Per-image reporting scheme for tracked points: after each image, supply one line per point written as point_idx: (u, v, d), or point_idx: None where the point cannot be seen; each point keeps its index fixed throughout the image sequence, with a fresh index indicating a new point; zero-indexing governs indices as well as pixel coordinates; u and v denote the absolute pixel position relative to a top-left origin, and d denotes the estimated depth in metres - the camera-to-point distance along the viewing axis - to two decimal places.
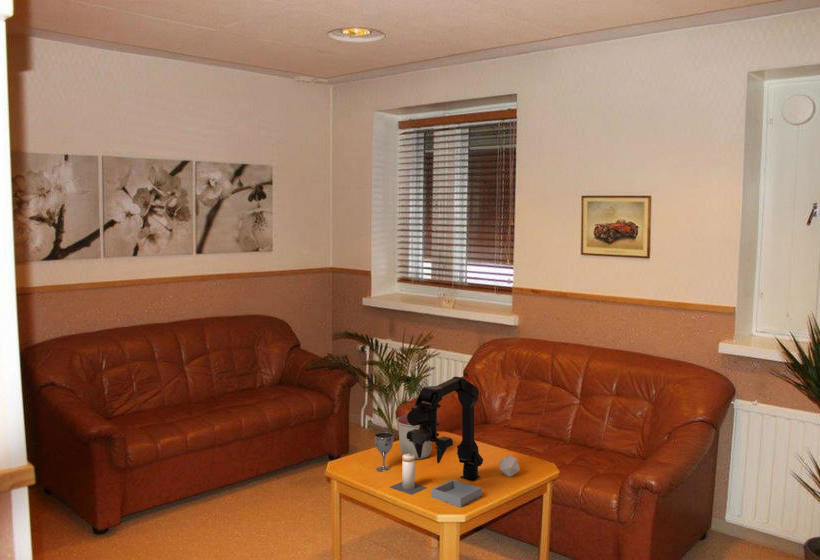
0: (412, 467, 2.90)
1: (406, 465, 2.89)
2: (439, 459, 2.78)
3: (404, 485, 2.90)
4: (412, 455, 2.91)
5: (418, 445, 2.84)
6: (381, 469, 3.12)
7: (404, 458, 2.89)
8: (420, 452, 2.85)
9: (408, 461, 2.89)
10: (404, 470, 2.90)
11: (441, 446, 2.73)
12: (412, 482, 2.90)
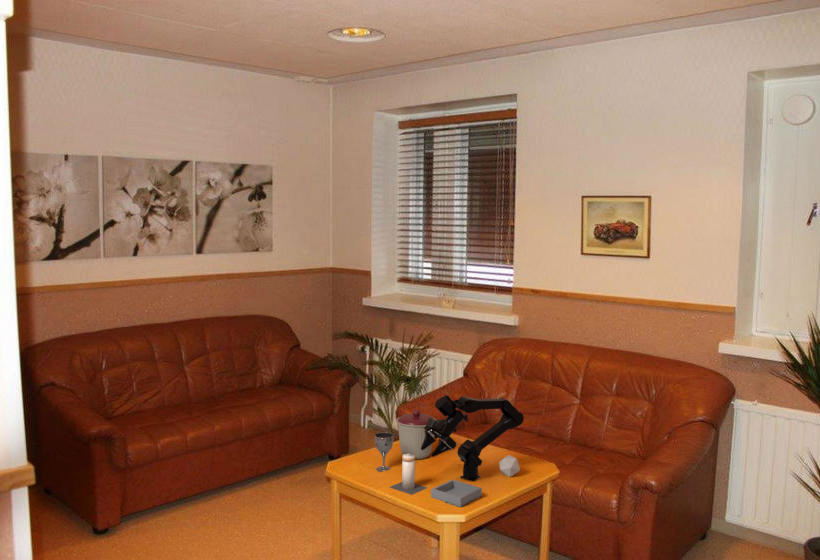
0: (412, 467, 2.90)
1: (406, 465, 2.89)
2: (434, 453, 2.90)
3: (404, 485, 2.90)
4: (412, 455, 2.91)
5: (428, 439, 3.00)
6: (381, 469, 3.12)
7: (404, 458, 2.89)
8: (425, 446, 2.99)
9: (408, 461, 2.89)
10: (404, 470, 2.90)
11: (444, 438, 2.88)
12: (412, 482, 2.90)
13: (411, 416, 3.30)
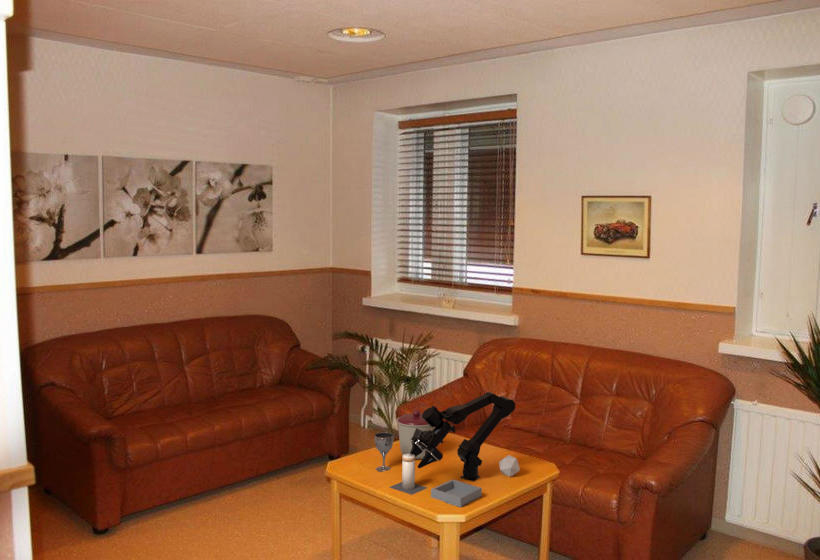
0: (412, 467, 2.90)
1: (406, 465, 2.89)
2: (421, 464, 2.88)
3: (404, 485, 2.90)
4: (412, 455, 2.91)
5: (415, 450, 2.98)
6: (381, 469, 3.12)
7: (404, 458, 2.89)
8: None
9: (408, 460, 2.89)
10: (404, 470, 2.90)
11: (430, 450, 2.86)
12: (412, 482, 2.90)
13: (411, 416, 3.30)
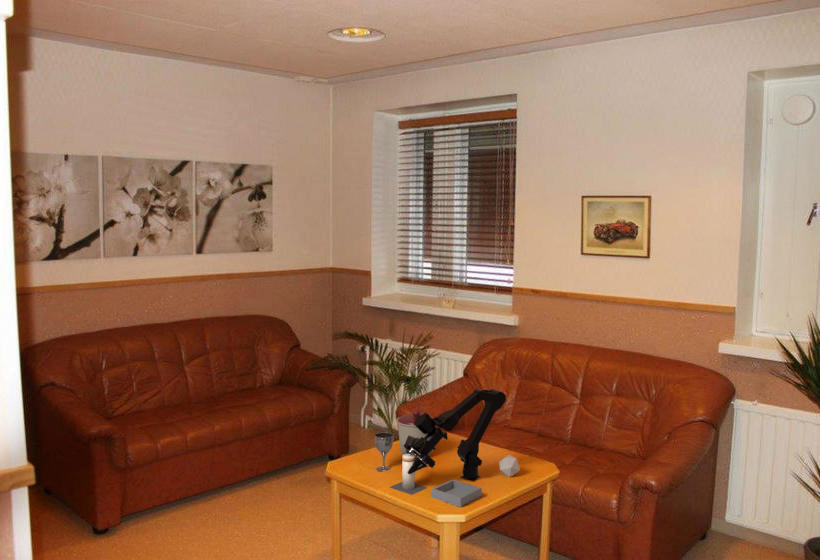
0: None
1: (406, 465, 2.89)
2: (411, 470, 2.88)
3: (404, 485, 2.90)
4: (412, 455, 2.91)
5: None
6: (381, 469, 3.12)
7: (404, 458, 2.89)
8: None
9: (408, 460, 2.89)
10: (404, 470, 2.90)
11: (422, 457, 2.84)
12: (412, 482, 2.90)
13: (411, 416, 3.30)
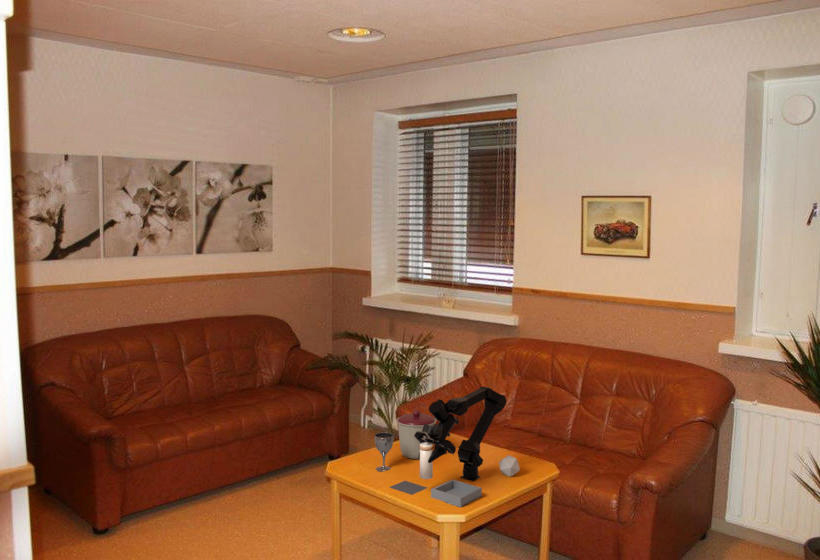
0: None
1: (426, 454, 2.83)
2: (431, 459, 2.83)
3: (424, 475, 2.84)
4: (429, 443, 2.86)
5: None
6: (381, 469, 3.12)
7: (423, 447, 2.83)
8: None
9: (428, 449, 2.83)
10: (424, 460, 2.83)
11: (445, 444, 2.80)
12: (431, 471, 2.85)
13: (411, 416, 3.30)
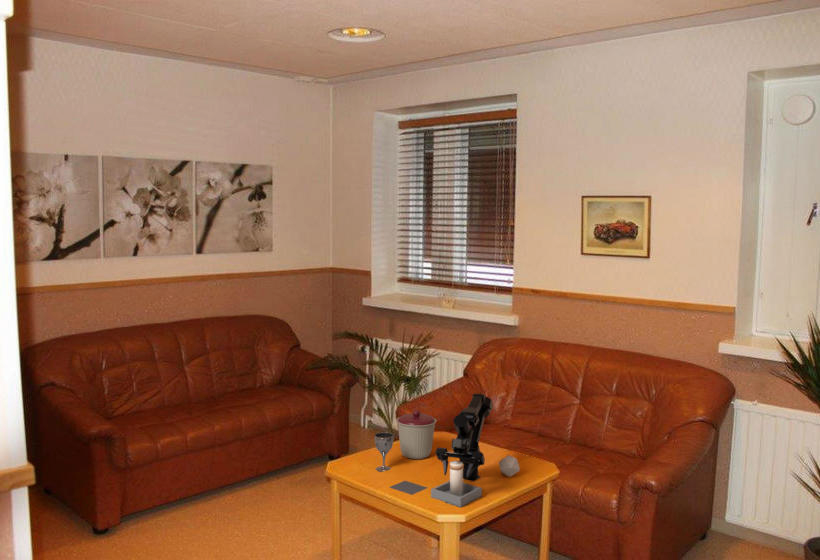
0: (462, 473, 2.82)
1: (459, 473, 2.80)
2: (469, 473, 2.81)
3: (457, 494, 2.81)
4: None
5: (446, 462, 2.85)
6: (381, 469, 3.12)
7: (457, 467, 2.79)
8: (446, 470, 2.84)
9: (461, 468, 2.80)
10: (457, 479, 2.80)
11: (479, 456, 2.81)
12: (462, 488, 2.83)
13: (411, 416, 3.30)
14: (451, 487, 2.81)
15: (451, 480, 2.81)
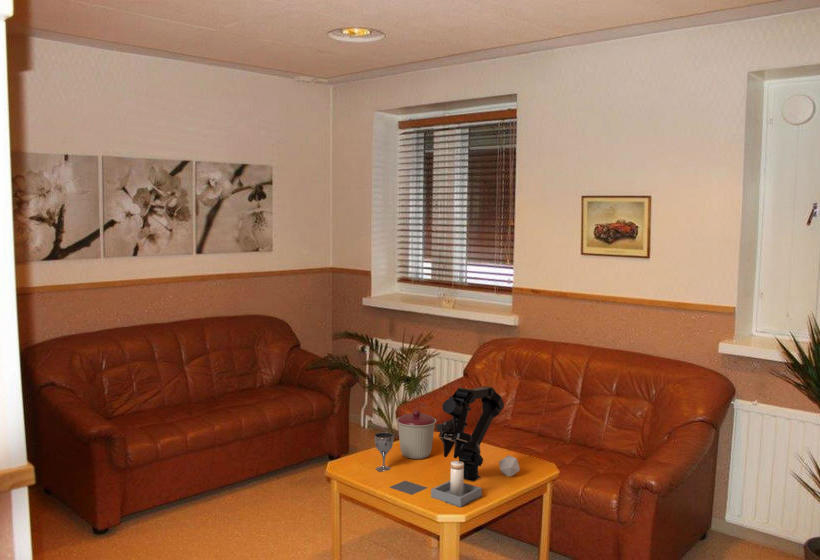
0: (463, 473, 2.82)
1: (460, 473, 2.80)
2: (456, 454, 2.86)
3: (457, 494, 2.81)
4: None
5: (446, 444, 2.96)
6: (381, 469, 3.12)
7: (458, 466, 2.80)
8: (447, 452, 2.95)
9: (462, 467, 2.81)
10: (458, 479, 2.80)
11: (456, 436, 2.84)
12: (462, 489, 2.83)
13: (411, 416, 3.30)
14: (451, 487, 2.82)
15: (452, 480, 2.81)
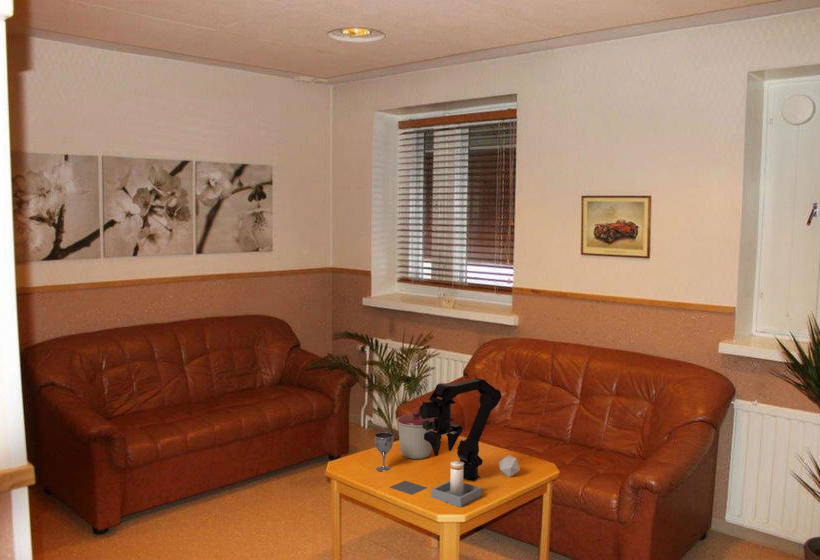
0: (462, 473, 2.82)
1: (460, 473, 2.80)
2: (434, 452, 2.91)
3: (457, 494, 2.81)
4: (459, 461, 2.83)
5: (449, 438, 2.99)
6: (381, 469, 3.12)
7: (457, 466, 2.80)
8: (450, 446, 2.98)
9: (462, 468, 2.81)
10: (458, 479, 2.80)
11: None
12: (462, 489, 2.83)
13: (411, 416, 3.30)
14: (451, 487, 2.82)
15: (451, 480, 2.81)
